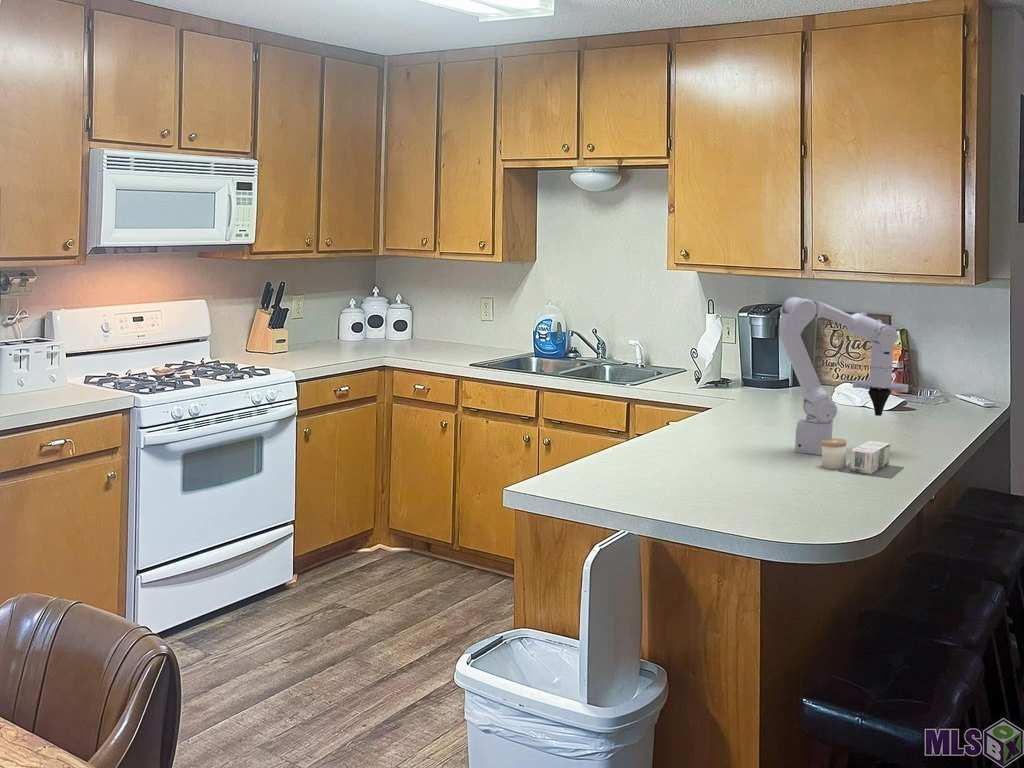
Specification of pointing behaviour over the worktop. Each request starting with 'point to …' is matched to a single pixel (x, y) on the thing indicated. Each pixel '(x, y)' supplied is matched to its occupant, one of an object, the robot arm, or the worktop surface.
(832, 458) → the canister
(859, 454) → the syrup box
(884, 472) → the mat
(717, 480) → the worktop surface
